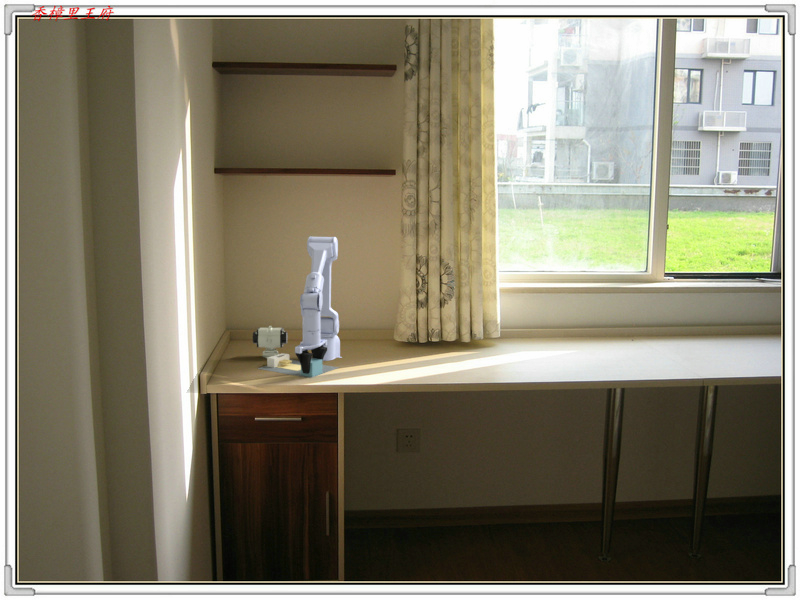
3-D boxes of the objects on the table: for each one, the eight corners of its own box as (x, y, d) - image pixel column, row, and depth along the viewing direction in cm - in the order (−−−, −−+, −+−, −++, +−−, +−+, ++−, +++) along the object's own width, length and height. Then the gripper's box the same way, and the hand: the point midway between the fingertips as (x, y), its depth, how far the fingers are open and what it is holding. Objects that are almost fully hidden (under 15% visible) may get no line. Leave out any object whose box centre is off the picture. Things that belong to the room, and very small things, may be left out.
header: (282, 361, 240) (282, 352, 239) (296, 364, 237) (296, 355, 236) (267, 366, 233) (267, 357, 232) (281, 368, 230) (281, 359, 230)
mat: (287, 361, 244) (287, 358, 244) (339, 369, 233) (339, 367, 233) (257, 370, 230) (257, 368, 230) (310, 380, 219) (310, 377, 219)
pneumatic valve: (255, 357, 249) (254, 324, 247) (287, 357, 249) (287, 324, 248) (252, 361, 243) (251, 327, 242) (286, 361, 244) (285, 327, 242)
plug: (311, 371, 227) (311, 357, 227) (322, 373, 225) (322, 359, 224) (300, 375, 223) (300, 361, 222) (312, 377, 220) (312, 362, 220)
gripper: (315, 324, 230) (315, 364, 232) (287, 332, 217) (287, 374, 219) (332, 327, 226) (332, 367, 228) (305, 334, 214) (305, 377, 216)
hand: (311, 371), depth 224 cm, fingers closed on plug, 5 cm apart
